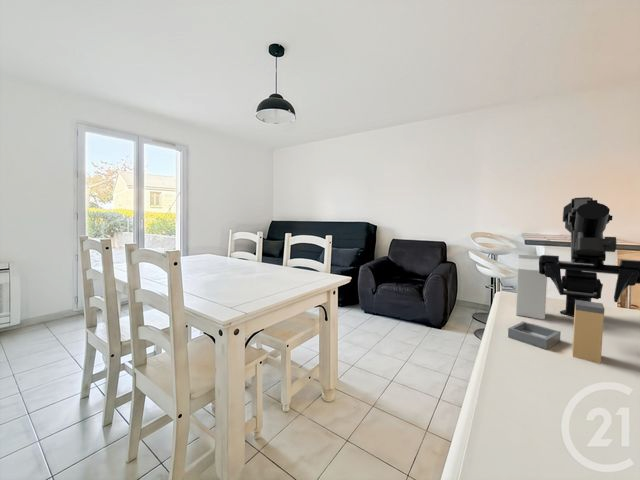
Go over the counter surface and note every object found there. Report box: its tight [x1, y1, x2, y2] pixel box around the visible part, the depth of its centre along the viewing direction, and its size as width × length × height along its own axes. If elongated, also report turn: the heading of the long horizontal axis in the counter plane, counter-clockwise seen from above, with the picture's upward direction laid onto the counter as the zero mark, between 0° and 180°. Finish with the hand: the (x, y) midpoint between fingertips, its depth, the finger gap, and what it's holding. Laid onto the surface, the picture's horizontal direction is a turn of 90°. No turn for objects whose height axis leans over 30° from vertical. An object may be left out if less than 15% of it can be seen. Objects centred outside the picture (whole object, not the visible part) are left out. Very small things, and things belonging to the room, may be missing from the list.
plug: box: [572, 300, 605, 364], centre depth 61 cm, size 4×4×12 cm
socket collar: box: [507, 321, 561, 350], centre depth 70 cm, size 8×8×2 cm
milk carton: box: [515, 254, 548, 320], centre depth 86 cm, size 7×7×19 cm
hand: (587, 297), depth 64 cm, fingers open, 9 cm apart
